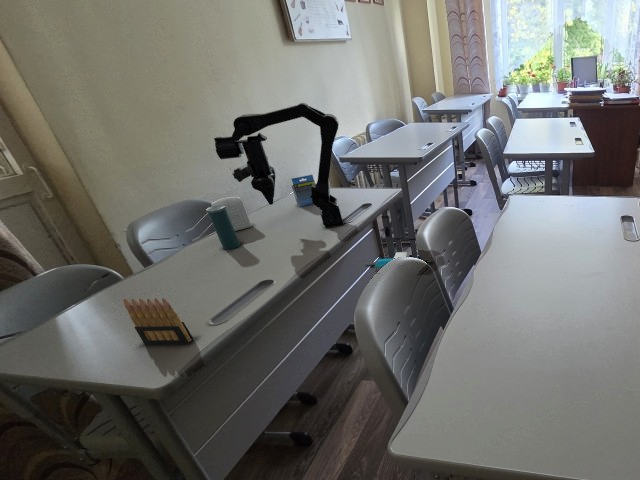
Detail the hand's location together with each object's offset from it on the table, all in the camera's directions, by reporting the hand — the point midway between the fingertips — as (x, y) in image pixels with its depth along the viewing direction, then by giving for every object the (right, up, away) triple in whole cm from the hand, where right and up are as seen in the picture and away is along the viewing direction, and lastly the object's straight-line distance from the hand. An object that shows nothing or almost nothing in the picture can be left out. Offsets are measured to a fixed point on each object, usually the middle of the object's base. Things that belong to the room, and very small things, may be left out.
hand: (271, 200), depth 141 cm
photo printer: (-19, -9, +10) cm, 23 cm away
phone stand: (+50, -23, -20) cm, 59 cm away
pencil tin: (-12, -17, -3) cm, 21 cm away
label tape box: (-3, +5, +33) cm, 34 cm away
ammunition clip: (+5, -43, -49) cm, 65 cm away
